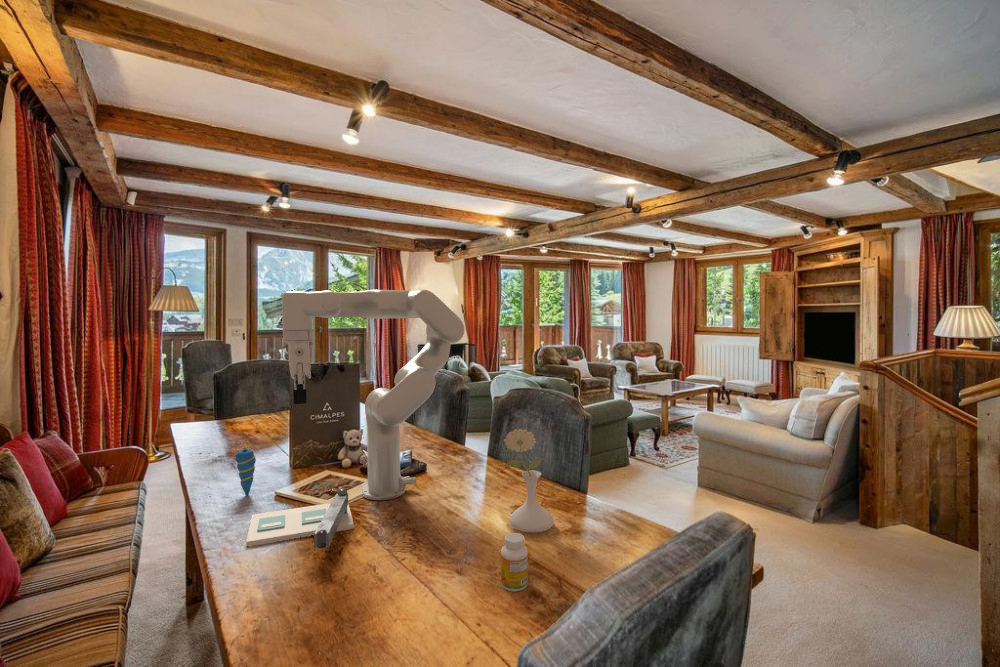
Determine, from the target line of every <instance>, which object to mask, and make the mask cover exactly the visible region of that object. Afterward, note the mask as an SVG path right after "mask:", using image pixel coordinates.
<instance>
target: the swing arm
mask: <svg viewBox="0 0 1000 667" xmlns="http://www.w3.org/2000/svg"><path fill="white" fill-rule="evenodd" d="M330 503H331V504H330V506H329V508H328V510H327V512H326V513H325V515H324V517H323V519H322V521H321V522H320V524H319V526H318V528H317V530H316V531H315V533H314V535H313V537H314V538H313V539H314V541H313V542H314V548H317V549H324V548H326V547H330V545H331V543H332V541H333V538H334V536H335V533H336V530H337V528H338V525H339V523H340V521H341V519H342V517H343V515H344V513H346V512H347V506H348V504H349V492H348V489H347V488H346V487H340V488H338V489H337V493H336V494H335V496H334V498H333V499H332V501H331V502H330Z"/></svg>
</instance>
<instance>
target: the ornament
mask: <svg viewBox="0 0 1000 667" xmlns="http://www.w3.org/2000/svg"><path fill="white" fill-rule="evenodd" d="M235 461H236V462H237V465H236V468H237V469H238V477H239V479H240V486H241V488H242V490H243V492H244V494H245V496H249V494H250V492H251V487H252V485H253V482H254V473H255V470H256V467H255V464H256V461H257V459H256V455H255V452H254V451H253V450H252V449H248V448H247V446H246V445H244V446H243V448H242V449H241V450H239V451H238V452H237V453H236V455H235Z"/></svg>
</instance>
